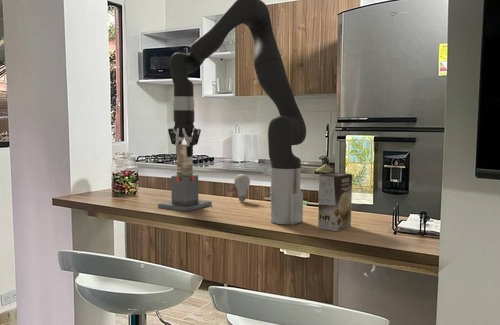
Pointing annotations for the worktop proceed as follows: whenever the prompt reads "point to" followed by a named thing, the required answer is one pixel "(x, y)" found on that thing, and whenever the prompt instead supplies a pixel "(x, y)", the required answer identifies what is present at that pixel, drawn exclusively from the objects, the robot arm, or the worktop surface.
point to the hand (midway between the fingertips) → (184, 156)
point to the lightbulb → (242, 185)
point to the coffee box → (335, 201)
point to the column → (183, 161)
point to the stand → (184, 195)
